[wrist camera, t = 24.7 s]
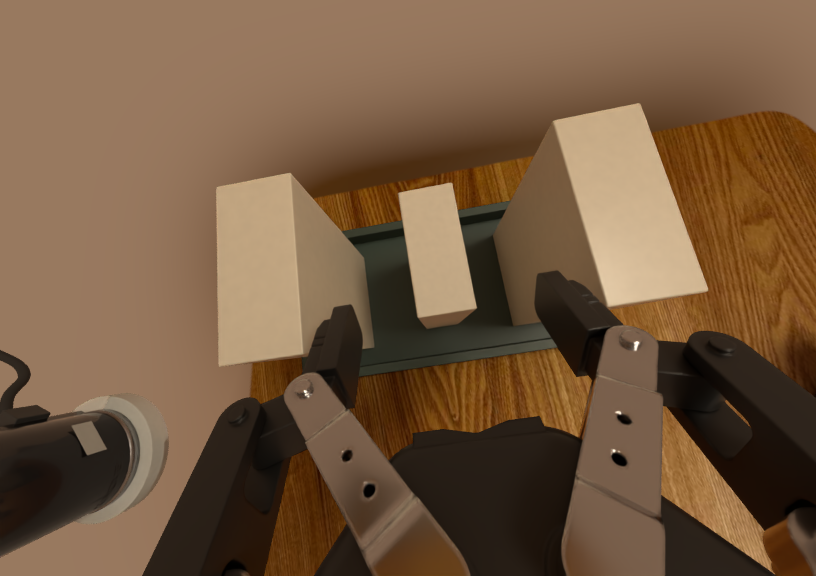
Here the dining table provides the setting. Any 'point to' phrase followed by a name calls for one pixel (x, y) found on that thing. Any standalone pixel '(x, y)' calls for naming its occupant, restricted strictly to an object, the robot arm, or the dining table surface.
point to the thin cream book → (436, 256)
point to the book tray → (396, 311)
